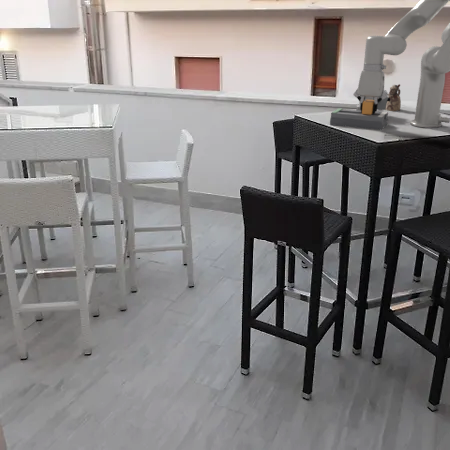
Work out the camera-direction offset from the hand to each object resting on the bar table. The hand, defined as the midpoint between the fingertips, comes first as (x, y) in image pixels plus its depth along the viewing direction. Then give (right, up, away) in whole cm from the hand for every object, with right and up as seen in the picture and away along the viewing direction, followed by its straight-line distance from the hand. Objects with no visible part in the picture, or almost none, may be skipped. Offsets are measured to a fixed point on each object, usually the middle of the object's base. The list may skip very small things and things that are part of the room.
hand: (368, 112), depth 208 cm
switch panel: (-3, -4, +4) cm, 7 cm away
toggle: (0, -2, +1) cm, 2 cm away
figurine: (+21, +9, +32) cm, 40 cm away
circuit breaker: (+7, +3, +19) cm, 21 cm away
